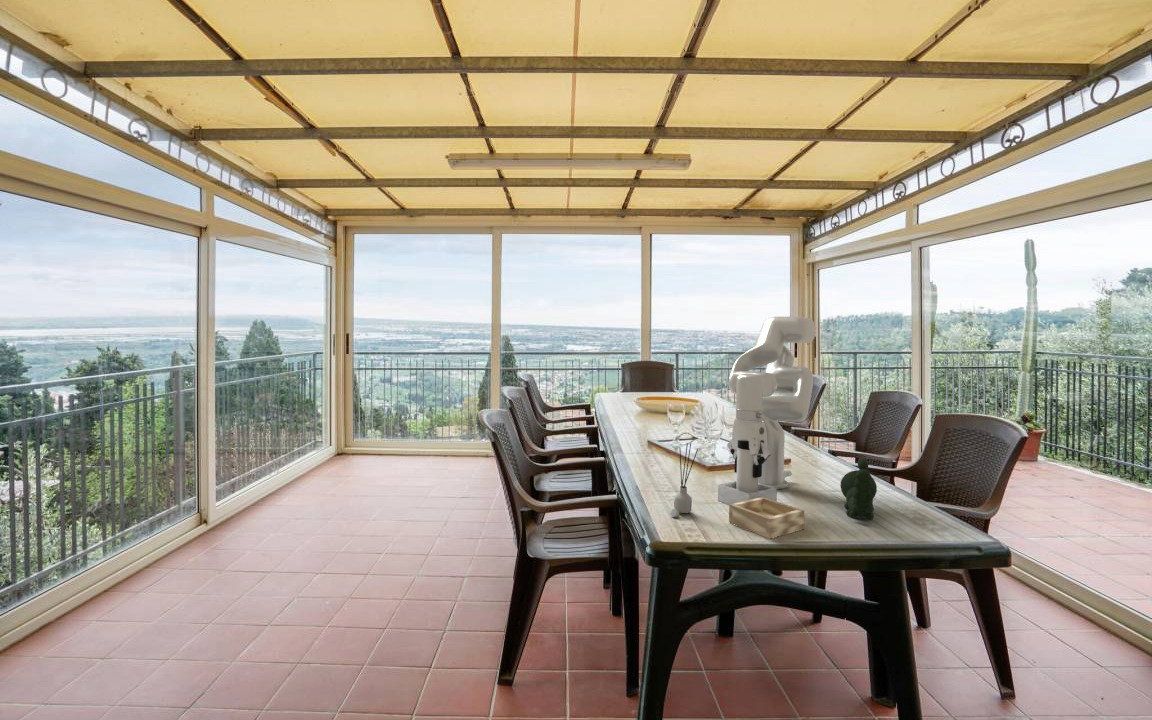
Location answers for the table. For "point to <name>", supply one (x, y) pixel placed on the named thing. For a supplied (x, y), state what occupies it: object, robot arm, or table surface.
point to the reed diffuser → (683, 492)
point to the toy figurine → (859, 491)
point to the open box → (744, 493)
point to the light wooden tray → (766, 517)
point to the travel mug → (745, 469)
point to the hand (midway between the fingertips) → (747, 473)
